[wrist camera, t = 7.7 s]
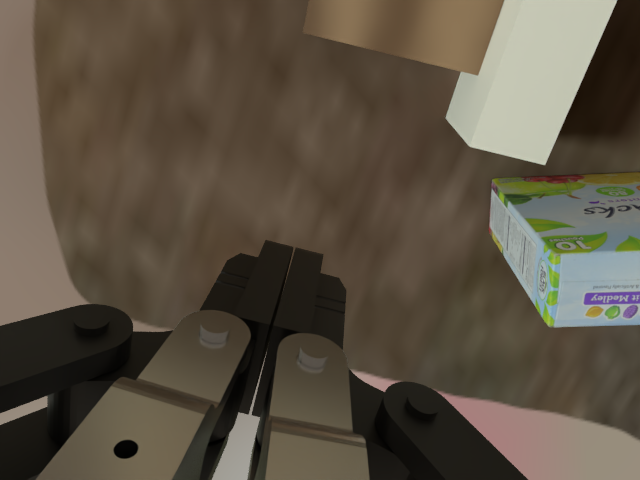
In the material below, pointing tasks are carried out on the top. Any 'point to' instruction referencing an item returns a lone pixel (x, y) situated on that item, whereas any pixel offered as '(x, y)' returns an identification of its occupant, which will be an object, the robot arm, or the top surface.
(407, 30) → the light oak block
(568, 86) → the cream rectangular block
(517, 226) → the snack box
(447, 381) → the top surface
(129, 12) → the top surface
